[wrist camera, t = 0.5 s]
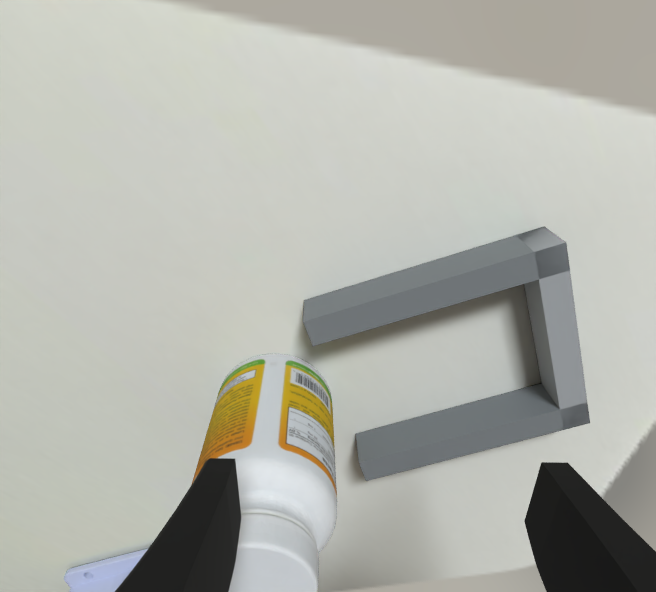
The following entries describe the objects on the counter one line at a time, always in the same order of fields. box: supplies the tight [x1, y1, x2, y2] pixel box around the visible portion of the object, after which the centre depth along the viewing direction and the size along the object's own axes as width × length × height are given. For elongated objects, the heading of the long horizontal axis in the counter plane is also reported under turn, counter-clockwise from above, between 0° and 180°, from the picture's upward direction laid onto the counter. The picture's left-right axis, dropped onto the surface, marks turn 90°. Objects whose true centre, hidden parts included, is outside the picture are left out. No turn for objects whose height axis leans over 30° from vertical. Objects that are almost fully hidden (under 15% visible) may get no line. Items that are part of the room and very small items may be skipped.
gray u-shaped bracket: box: [303, 227, 590, 481], centre depth 22 cm, size 10×9×2 cm
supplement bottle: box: [192, 354, 337, 592], centre depth 20 cm, size 5×5×10 cm
